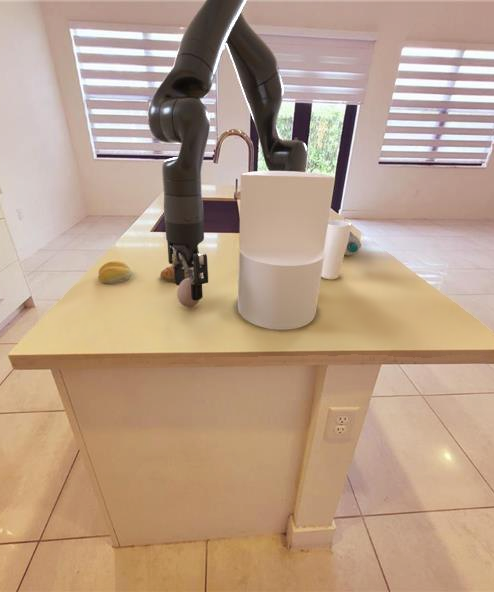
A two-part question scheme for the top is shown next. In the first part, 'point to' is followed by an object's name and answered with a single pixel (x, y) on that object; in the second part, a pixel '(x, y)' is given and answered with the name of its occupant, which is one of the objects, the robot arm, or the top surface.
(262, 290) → the white chair
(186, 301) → the egg
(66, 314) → the top surface
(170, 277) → the pastry
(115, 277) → the bread roll
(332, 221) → the drinking glass
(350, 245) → the detergent
